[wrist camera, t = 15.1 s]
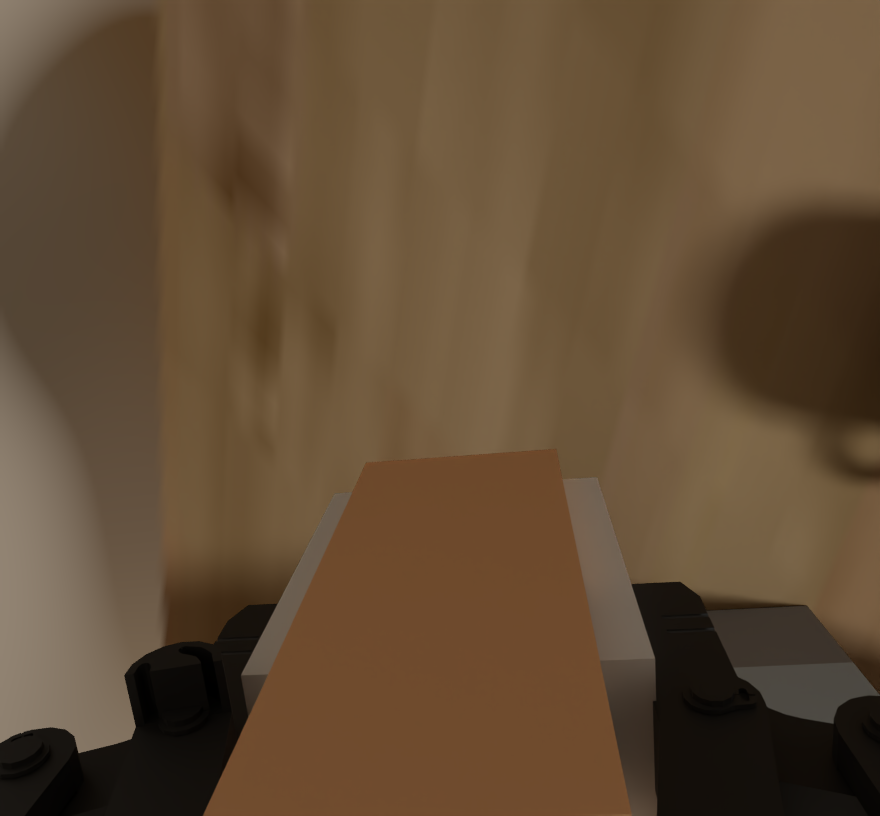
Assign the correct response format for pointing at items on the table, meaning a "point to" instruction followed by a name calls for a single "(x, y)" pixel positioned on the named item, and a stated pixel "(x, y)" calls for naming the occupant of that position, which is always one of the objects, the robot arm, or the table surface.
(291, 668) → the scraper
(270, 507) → the table surface
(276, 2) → the table surface
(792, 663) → the cabinet
